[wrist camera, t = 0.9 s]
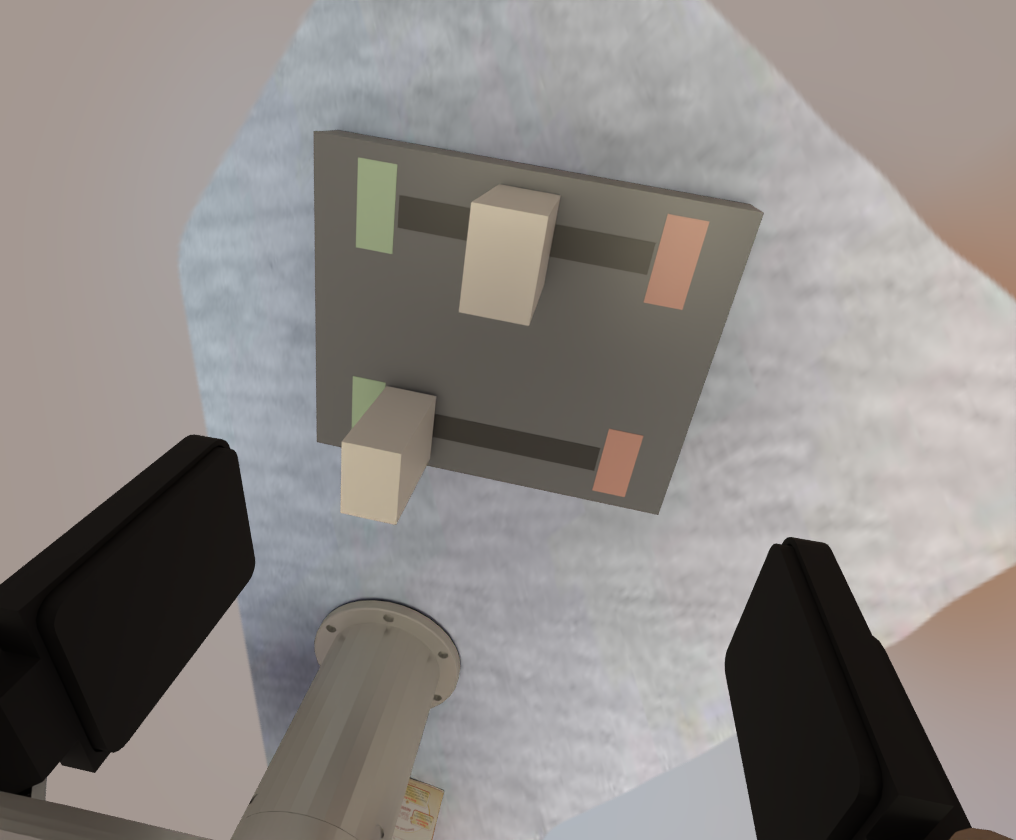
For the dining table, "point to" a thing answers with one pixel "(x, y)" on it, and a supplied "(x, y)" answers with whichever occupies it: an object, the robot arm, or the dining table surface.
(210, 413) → the dining table surface
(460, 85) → the dining table surface
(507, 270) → the block
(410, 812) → the coffeecake box
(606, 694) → the dining table surface
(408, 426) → the block
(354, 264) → the breaker panel
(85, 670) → the robot arm
